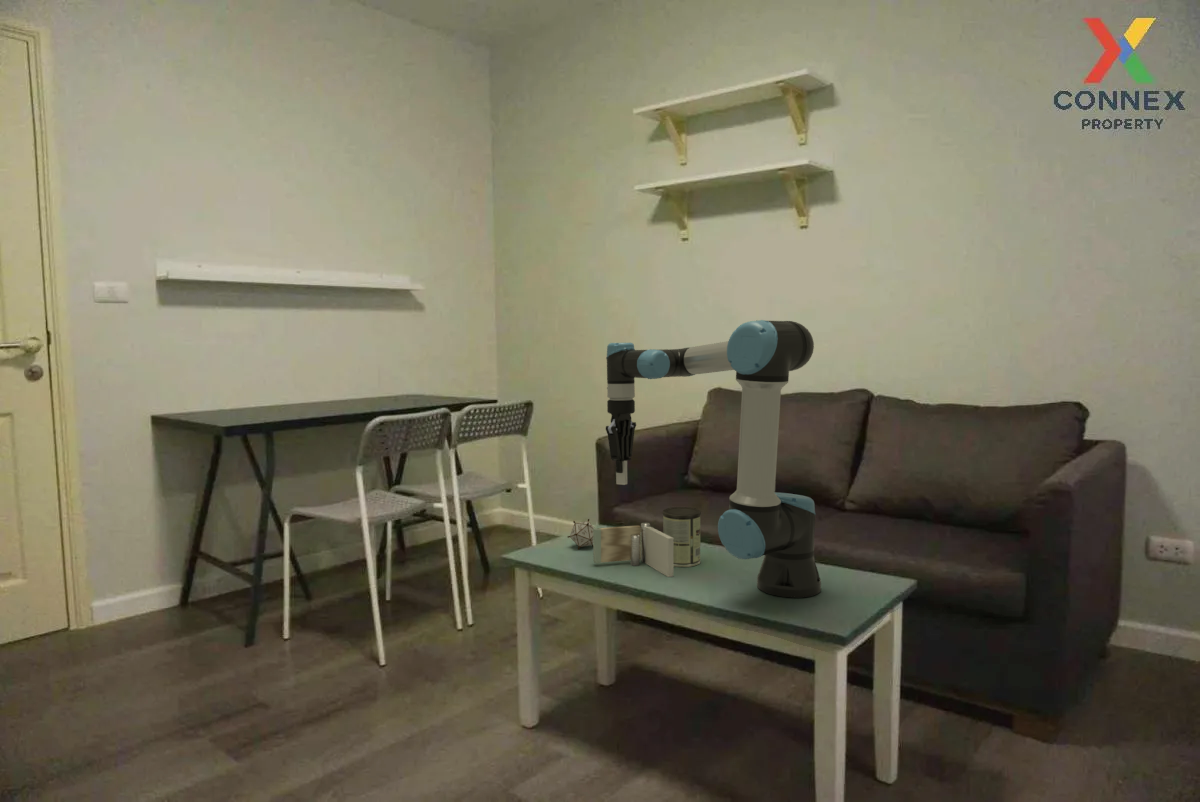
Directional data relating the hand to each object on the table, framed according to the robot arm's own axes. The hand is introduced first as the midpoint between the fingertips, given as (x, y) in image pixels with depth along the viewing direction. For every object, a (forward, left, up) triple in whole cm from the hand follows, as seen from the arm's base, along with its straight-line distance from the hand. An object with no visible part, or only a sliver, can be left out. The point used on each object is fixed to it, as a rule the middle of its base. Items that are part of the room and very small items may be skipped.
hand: (621, 484), depth 213 cm
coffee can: (-10, -13, -21) cm, 27 cm away
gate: (-5, +4, -20) cm, 21 cm away
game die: (+14, +6, -21) cm, 26 cm away
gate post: (-6, -4, -21) cm, 22 cm away
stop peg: (-8, 0, -21) cm, 22 cm away
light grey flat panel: (-14, -4, -21) cm, 25 cm away
